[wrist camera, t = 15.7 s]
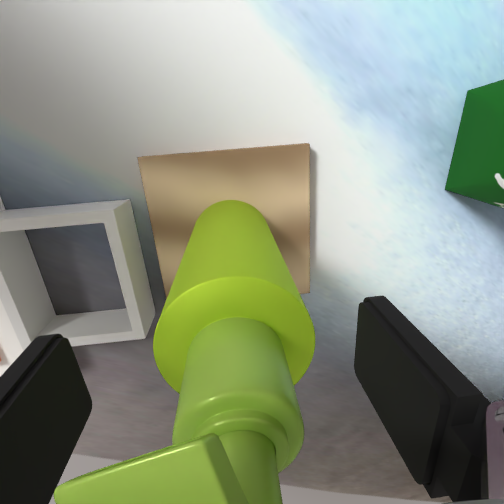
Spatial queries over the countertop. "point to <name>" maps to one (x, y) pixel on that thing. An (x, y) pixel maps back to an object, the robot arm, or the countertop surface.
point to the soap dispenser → (221, 374)
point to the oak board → (230, 188)
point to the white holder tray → (35, 293)
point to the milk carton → (480, 147)
